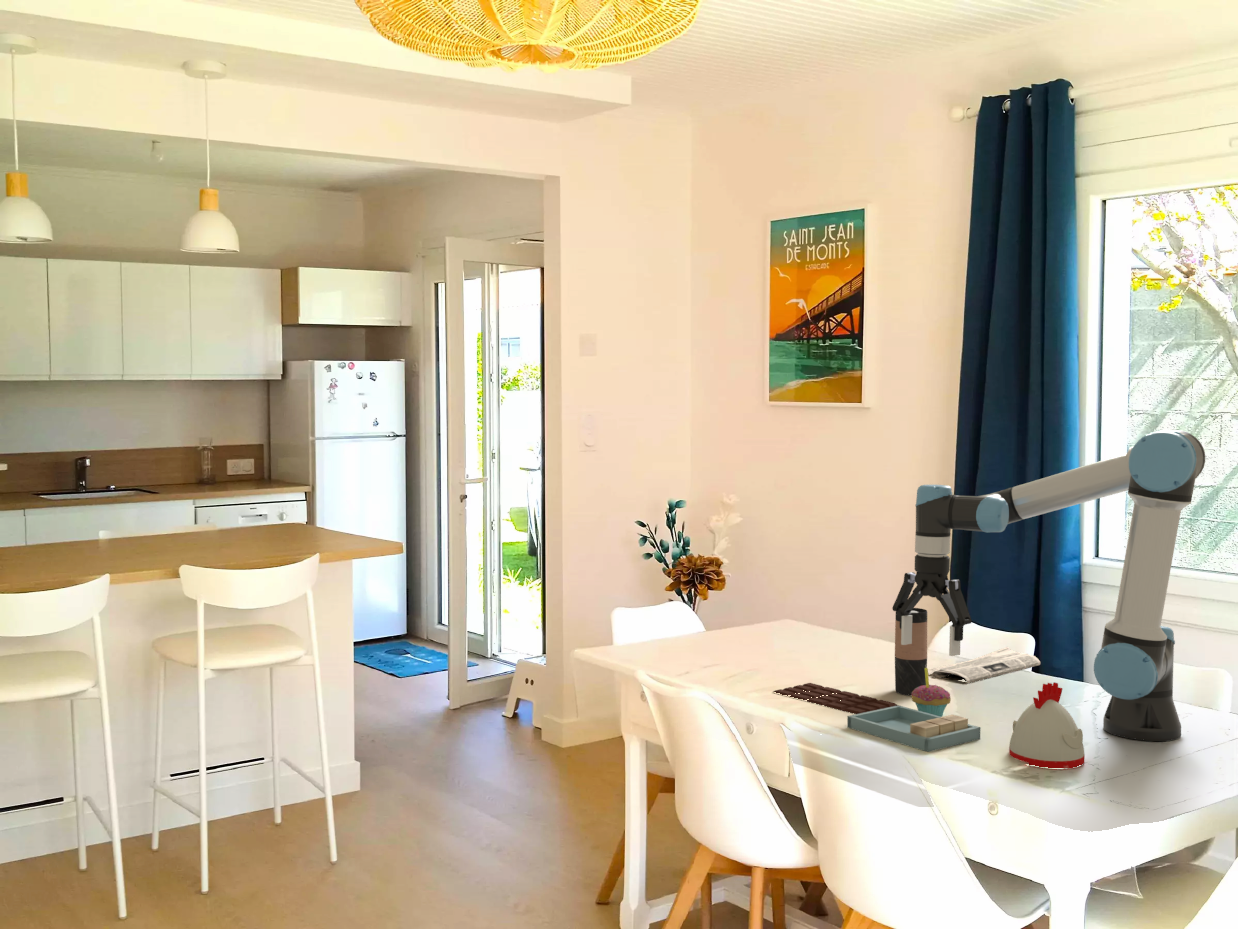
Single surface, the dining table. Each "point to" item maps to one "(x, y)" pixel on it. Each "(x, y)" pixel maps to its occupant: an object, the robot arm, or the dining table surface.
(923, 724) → the block
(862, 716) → the tray
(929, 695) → the cupcake
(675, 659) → the dining table surface
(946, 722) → the block
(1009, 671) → the newspaper
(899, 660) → the travel mug
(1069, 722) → the kitchen timer
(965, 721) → the block
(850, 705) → the chocolate bar
